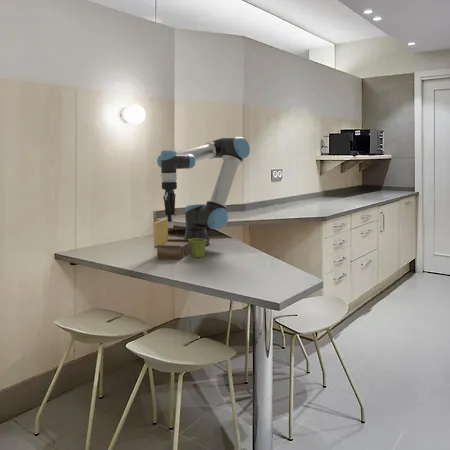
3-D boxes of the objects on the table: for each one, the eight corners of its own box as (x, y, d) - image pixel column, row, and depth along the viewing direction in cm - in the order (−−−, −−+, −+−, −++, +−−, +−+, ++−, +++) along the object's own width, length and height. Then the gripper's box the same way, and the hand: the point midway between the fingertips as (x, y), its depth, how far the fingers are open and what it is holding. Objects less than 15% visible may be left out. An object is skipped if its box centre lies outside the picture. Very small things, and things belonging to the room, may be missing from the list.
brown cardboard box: (180, 259, 245) (180, 245, 244) (157, 259, 248) (156, 245, 246) (190, 252, 262) (190, 239, 261) (168, 251, 265) (168, 238, 264)
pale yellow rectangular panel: (156, 248, 246) (155, 223, 245) (154, 248, 247) (153, 223, 245) (168, 241, 264) (167, 218, 263) (166, 241, 265) (165, 218, 263)
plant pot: (197, 253, 259) (197, 237, 258) (211, 256, 253) (211, 239, 252) (185, 257, 252) (184, 240, 251) (198, 259, 246) (198, 242, 245)
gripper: (166, 180, 257) (167, 225, 260) (157, 182, 244) (159, 229, 248) (180, 180, 255) (181, 226, 259) (172, 182, 243) (173, 230, 246)
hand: (170, 227), depth 253 cm, fingers closed
